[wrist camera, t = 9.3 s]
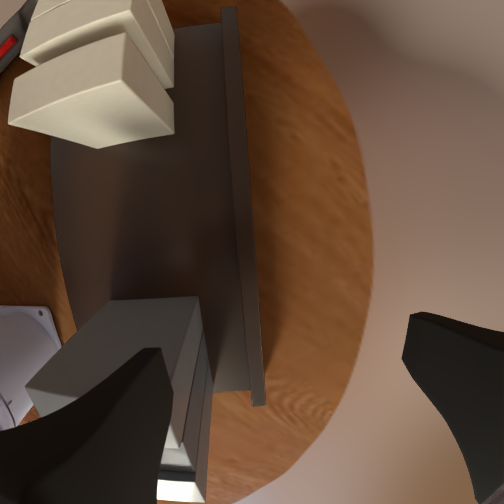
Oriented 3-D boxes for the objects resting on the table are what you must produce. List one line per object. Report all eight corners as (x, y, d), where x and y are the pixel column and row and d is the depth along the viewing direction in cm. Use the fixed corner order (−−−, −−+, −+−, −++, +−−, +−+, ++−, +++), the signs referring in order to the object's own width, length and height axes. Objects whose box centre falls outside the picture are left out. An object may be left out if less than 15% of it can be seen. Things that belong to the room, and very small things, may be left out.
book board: (102, 382, 20) (90, 403, 17) (64, 66, 15) (45, 54, 12) (262, 381, 21) (266, 405, 18) (235, 28, 15) (236, 5, 12)
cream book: (96, 149, 15) (6, 124, 7) (97, 118, 15) (13, 78, 6) (174, 134, 16) (121, 81, 7) (173, 102, 15) (126, 30, 6)
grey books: (134, 384, 19) (90, 486, 9) (109, 300, 18) (23, 386, 7) (213, 385, 19) (205, 502, 9) (198, 295, 18) (164, 405, 8)
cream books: (98, 104, 15) (18, 57, 6) (102, 52, 14) (41, -9, 5) (174, 87, 15) (130, 10, 6) (174, 35, 14) (143, -50, 5)
